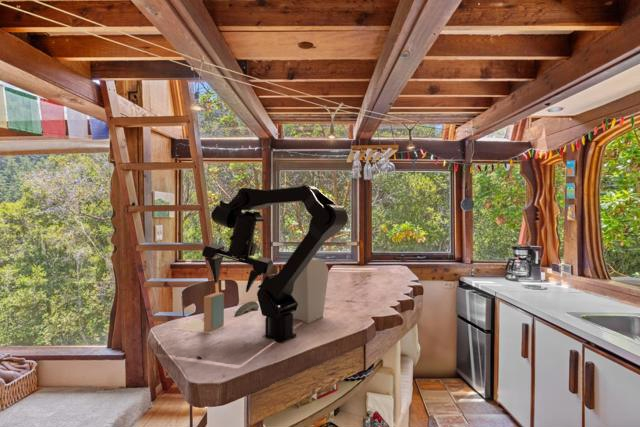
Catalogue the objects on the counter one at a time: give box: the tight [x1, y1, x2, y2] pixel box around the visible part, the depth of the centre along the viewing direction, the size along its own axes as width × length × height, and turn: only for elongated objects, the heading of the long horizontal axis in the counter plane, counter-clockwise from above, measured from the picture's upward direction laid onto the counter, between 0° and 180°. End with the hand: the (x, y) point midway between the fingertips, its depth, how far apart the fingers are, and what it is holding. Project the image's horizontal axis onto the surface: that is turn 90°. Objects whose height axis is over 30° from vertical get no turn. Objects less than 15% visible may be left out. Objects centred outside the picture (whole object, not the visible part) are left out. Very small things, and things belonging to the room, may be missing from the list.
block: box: [203, 292, 225, 331], centre depth 101 cm, size 2×6×9 cm, turn 161°
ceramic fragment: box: [234, 300, 260, 318], centre depth 120 cm, size 14×5×4 cm, turn 158°
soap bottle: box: [289, 232, 329, 324], centre depth 114 cm, size 12×10×26 cm
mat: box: [172, 319, 230, 334], centre depth 102 cm, size 12×9×1 cm
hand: (231, 287), depth 103 cm, fingers open, 9 cm apart
